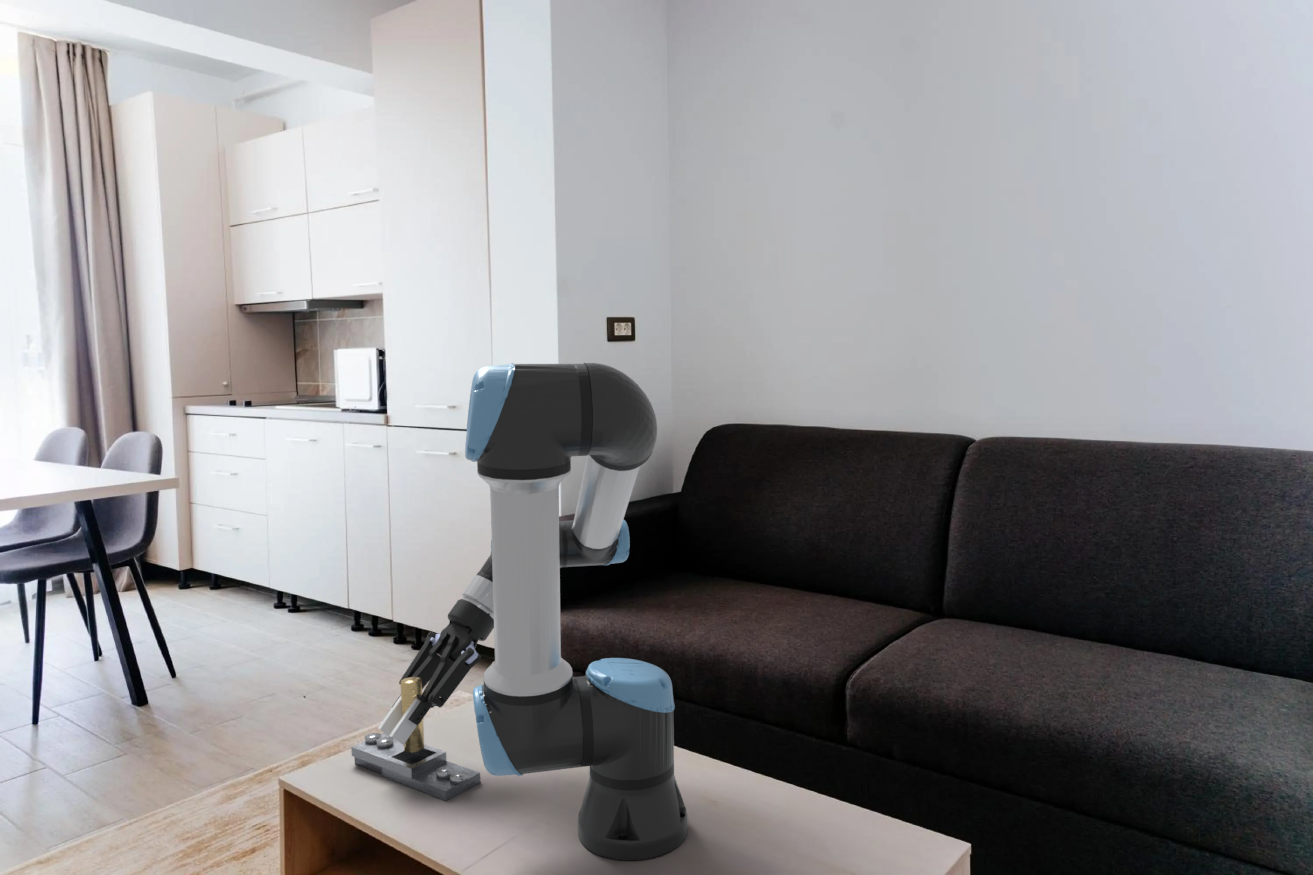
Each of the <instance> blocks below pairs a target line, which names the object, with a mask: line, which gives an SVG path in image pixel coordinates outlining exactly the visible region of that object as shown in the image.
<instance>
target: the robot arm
mask: <svg viewBox="0 0 1313 875" xmlns="http://www.w3.org/2000/svg"><path fill="white" fill-rule="evenodd" d="M657 423H658V422H657V417H656V412H655V410H654V408H653V405H652V403H651V401H650V399H649V397H648V396H647V395H646V392H644V391H643V389H642V388H641V386H639V384H638V383H637V382H635V380H634V379H633V378H631V377H630V376H629V375H627V374H626V373H624V372H622V371H620V370H618V369H616V368H614V367H612V366H610V365H607V364H603V363H595V362H583V363H513V362H512V363H508V364H507V363H506V364H495V365H486V366H483V367H481V368H479V369H478V370H476V371H475V373H474V374H473V378H472V382H471V388H470V394H469V403H468V411H467V423H466V437H465V447H464V448H465V449H464V450H465V452H464V453H465V454H464V456H465V459H466V460H468V461H471V462H474V463H475V462H476V465H477V467H476V468H477V470H476V471H477V473H476V474H477V475H478V477H480V479H482V480H483V481H484V482H485V483H486V484H487V485H488V486H489V491H490V492H489V494H490V496H489V498H490V526H491V528H490V529H491V532H490V534H491V540H490V541H491V542H490V549H491V550H490V555H489V556H488V557H487V559H486V560H485V562H484V564H483V565H482V567H481V568H480V569H479V571H478V572H477V573H476V575H475V576H474V577H473V579H472V580H471V581H470V582H469V584H468V585H467V587H466V588H465V590H464V591H463V592H462V594H461V595H462V598H460V599H458V600H457V601H456V603H454V605H453V606H452V608H451V610H450V611H449V612H448V614H447V619H448V621H449V622H448V624H447V625H446V627H444V628H443V629H442V630H441V632H438V633H435V632H434V631H432V630H431V631H429V632H428V634H427V636H426V638H425V641H424V643H423V645H422V646H421V647H420V649H419V651H418V652H417V653H416V655H415V657H414V658H413V660H412V662H410V664H409V666H408V668H407V669H406V670H405V672H404V673H403V675H402V677H401V678H400V679H399V685H400V686H401V680H403V679H405V678H409V677H419V678H421V679H422V690H423V691H422V695H419V694H417V698H418V699H419V700H421V701H419V700H418V699H416V698H415V699H414V701H413V702H412V704H411V705H410V707H409V708H408V709H407V711H406V712H405V714H404V715H403V717H402V702H401V694H400V695H399V696H398V697H397V699H396V700H395V702H394V703H393V705H392V706H391V708H390V710H389V711H388V713H387V714H386V716H385V717H384V718H383V719H382V721H381V723H380V724H379V725H378V727H377V729H378V730H380V731H381V732H382V733H386V734H387V735H388V736H390V737H392V738H394V739H395V740H397V741H398V742H400V743H401V744H403V745H404V744H405V742H406V741H407V739H408V738H409V736H410V735H411V734H412V732H413V731H414V729H415V728H416V726H417V725H418V724H419V723H420V722H421V721H422V719H423V720H424V717H426V715H427V713H428V712H429V710H431V709H433V708H434V707H438V708H442V707H443V706H445V704H446V703H447V701H448V700H449V698H450V697H451V696H452V695H453V693H454V692H455V690H456V689H457V688H458V686H459V685H460V684H461V682H462V681H463V679H464V678H465V677H466V675H467V674H468V673H469V672H470V670H471V669H472V668H473V667H474V666H475V665H476V664H477V663H478V662H480V660H481V659H482V655H481V654H479V653H478V652H477V650H476V648H477V647H478V646H477V644H478V643H479V641H480V642H484V641H486V640H487V638H488V637H489V636H490V634H491V633H492V631H493V636H494V637H493V639H494V640H493V642H494V661H493V662H492V663H491V664H490V665H489V666H488V667H487V668H486V670H485V671H484V673H483V684H478V686H475V687H474V688H473V690H472V699H473V707H474V708H473V709H474V714H475V721H476V730H477V736H478V742H479V748H480V753H481V756H482V758H481V759H482V762H483V766H484V768H485V770H486V771H487V772H488V773H489V774H490V775H492V776H496V777H498V776H499V777H500V776H517V777H521V776H524V774H525V775H526V774H532V773H533V774H534V773H543V772H550V771H552V772H553V771H561V770H567V769H569V770H570V769H575V768H577V769H578V768H583V767H589V779H588V783H587V786H586V790H585V793H584V796H583V800H582V803H581V808H580V810H579V812H578V817H577V833H578V834H577V835H578V838H579V841H580V842H581V844H582V845H583V846H584V847H585V848H586V849H587V850H589V851H590V852H592V853H594V854H596V855H598V856H602V857H605V858H607V859H612V860H620V861H639V860H641V861H642V860H646V859H653V858H656V857H659V856H662V855H665V854H668V853H670V852H672V851H673V850H675V849H676V848H678V847H679V846H681V844H682V843H683V842H684V841H685V839H686V838H687V835H688V833H689V832H688V830H689V828H688V812H687V808H686V805H685V802H684V800H683V797H682V794H681V791H680V788H679V784H678V783H677V779H676V776H675V740H674V739H675V738H674V737H675V736H674V735H675V734H674V733H675V732H674V731H675V729H674V710H675V707H676V706H675V702H674V694H673V693H674V691H673V684H672V683H673V682H672V680H671V678H670V676H669V674H668V673H667V672H666V671H665V670H664V669H662V668H661V667H659V666H657V665H655V664H652V663H650V662H646V661H643V660H639V659H632V658H626V657H625V658H624V657H623V658H622V657H609V658H600V659H599V660H595V661H592V662H590V664H588V667H587V669H586V670H585V675H584V676H573V674H574V672H573V667H572V666H571V664H570V663H569V662H567V661H566V660H565V659H564V658H562V654H561V652H562V650H561V649H562V648H561V646H562V645H561V644H562V643H561V578H560V577H561V574H560V573H561V571H560V570H561V568H568V567H569V568H571V567H588V566H589V567H590V566H610V565H611V564H621V563H624V562H626V561H627V560H628V558H629V555H630V547H631V546H630V545H631V544H630V543H631V541H630V540H631V539H630V538H631V537H630V531H629V526H628V523H627V521H626V520H625V519H624V518H625V516H626V512H627V509H628V506H629V503H630V499H631V496H632V494H633V490H634V487H635V484H636V480H637V477H638V475H639V471H640V468H641V467H643V466H644V465H645V464H646V463H647V462H648V461H649V459H650V458H651V457H652V454H653V452H654V449H655V445H656V442H657V436H658V424H657ZM584 456H585V457H586V460H585V465H584V470H583V474H582V479H581V484H580V489H579V493H578V494H579V495H578V498H577V503H576V509H575V512H574V518H573V520H560V506H559V505H560V496H559V495H560V491H559V490H560V488H559V487H560V484H561V483H562V481H564V479H566V478H567V477H568V476H569V475H570V473H571V470H572V467H571V466H572V465H571V462H572V460H571V459H572V457H584Z"/></svg>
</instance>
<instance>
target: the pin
mask: <svg viewBox="0 0 1313 875" xmlns="http://www.w3.org/2000/svg"><path fill="white" fill-rule="evenodd" d="M400 680H401V679H400ZM422 693H423V689H422V679H421V678H419V677H409V678H405V679H403V680H401V685H400V695H401V702H402V717H403V715H404V714H405V712H406V711H407V709H408V708H409V707H410V705H411V704H412V702H413V701H414V699H415V698H416V699H418V698H417V694H419V695H422ZM418 700H419V699H418ZM419 701H421V700H419ZM424 725H425V724H424V718H423V719H422V721H421V722H420V723H419V724H418V725H417V726H416V728H415V729H414V731H413V732H412V734H411V735H410V736H409V738H408V739H407V741H406V742H405V744H404V745H403V746H404V751H405V752H418V751H420V750H422V749H424V747H425V746H424V745H425V726H424Z"/></svg>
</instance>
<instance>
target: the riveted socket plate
mask: <svg viewBox="0 0 1313 875" xmlns="http://www.w3.org/2000/svg"><path fill="white" fill-rule="evenodd" d="M424 746H425V747H424V749H422V750H420V751H418V752H405V751H404V746H403V744H401V743H400V742H398V741H397V740H395V739H394V738H392V737H390V736H388V735H387V734H386V733H384V732H382V733H380V732H371V733H367V734H366V735H365V736H364V741H361V742H358V743H357V744H355V745H352V746H351V748H350V750H351V757H353V758H354V764H355V765H357V766H360V767H362V768H365V769H367V770H371V771H373V772H376V773H378V774H381V776H382V778H385V779H388V780H390V781H393V782H396V783H399V784H401V785H404V786H407V787H409V788H411V789H413V790H416V791H420V792H422V793H425V794H427V795H430V796H432V797H434V798H437V799H440V800H442V801H445V802H447V801H448V800H450V799H453V798H454V797H456V796H457V795H459V794H461V793H463V792H465V791H467V790H468V789H470V788H472V787H474V786H476V785H477V784H480V783H481V772H479V771H476V770H474V769H471V768H468V767H465V766H462V765H459V764H456V763H453V762H450V761H448V760H447V751H445V750H442V749H438V748H435V747H433V746H430V745H427V744H424Z"/></svg>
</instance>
